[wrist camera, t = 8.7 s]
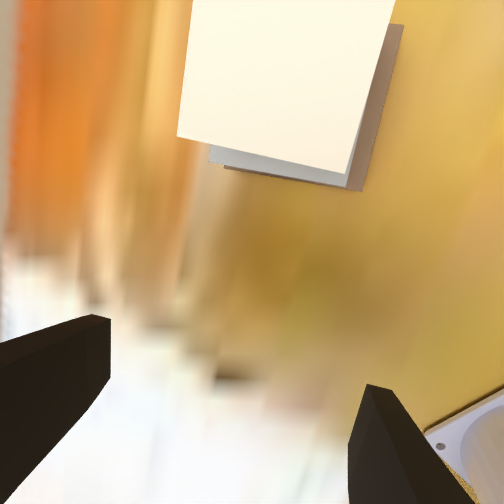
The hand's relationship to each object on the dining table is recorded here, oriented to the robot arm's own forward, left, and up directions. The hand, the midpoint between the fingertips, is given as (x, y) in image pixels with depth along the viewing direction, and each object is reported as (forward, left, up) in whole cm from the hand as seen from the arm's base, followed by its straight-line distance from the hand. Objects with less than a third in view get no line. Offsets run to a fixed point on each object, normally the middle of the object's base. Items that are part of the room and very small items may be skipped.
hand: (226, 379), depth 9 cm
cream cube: (+5, -7, -6) cm, 10 cm away
